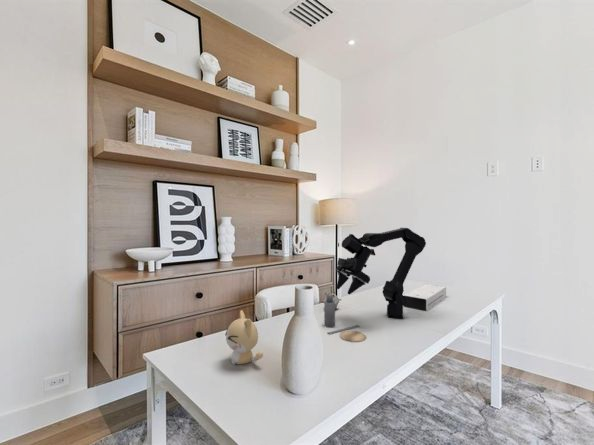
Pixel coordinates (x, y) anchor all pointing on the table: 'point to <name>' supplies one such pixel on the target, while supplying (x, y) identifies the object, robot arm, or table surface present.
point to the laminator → (425, 297)
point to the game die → (333, 299)
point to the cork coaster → (352, 336)
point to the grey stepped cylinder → (329, 311)
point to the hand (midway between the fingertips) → (342, 291)
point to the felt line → (343, 329)
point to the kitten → (242, 340)
